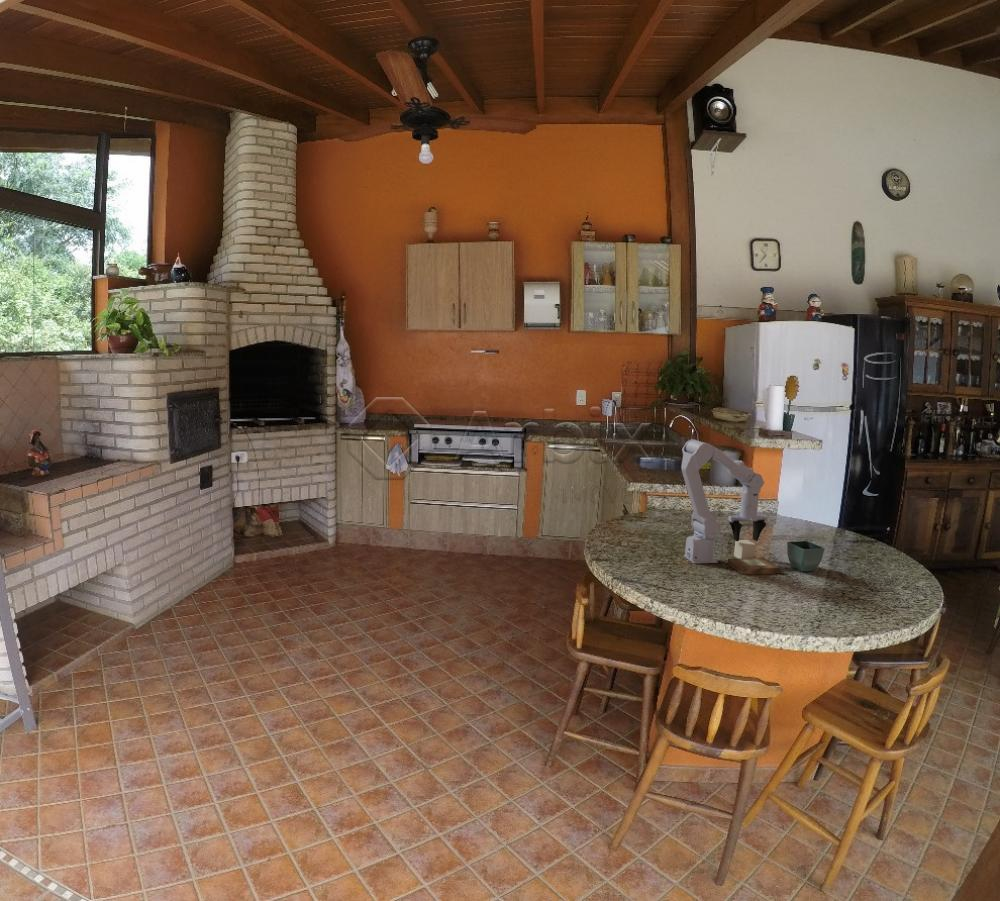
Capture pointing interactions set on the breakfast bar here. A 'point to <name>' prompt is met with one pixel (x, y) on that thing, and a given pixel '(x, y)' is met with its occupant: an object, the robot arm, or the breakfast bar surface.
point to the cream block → (744, 549)
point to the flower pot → (804, 555)
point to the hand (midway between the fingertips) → (745, 540)
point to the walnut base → (753, 565)
